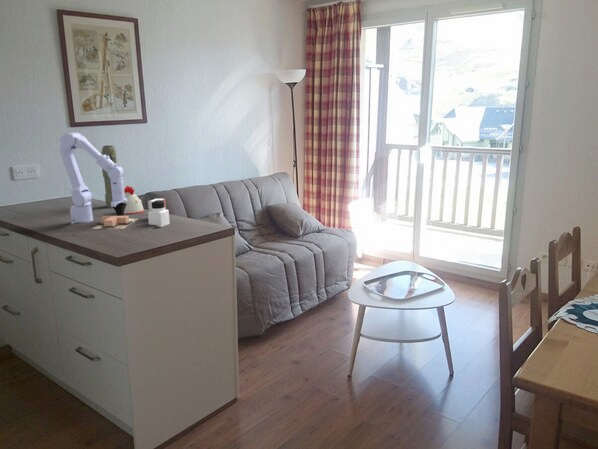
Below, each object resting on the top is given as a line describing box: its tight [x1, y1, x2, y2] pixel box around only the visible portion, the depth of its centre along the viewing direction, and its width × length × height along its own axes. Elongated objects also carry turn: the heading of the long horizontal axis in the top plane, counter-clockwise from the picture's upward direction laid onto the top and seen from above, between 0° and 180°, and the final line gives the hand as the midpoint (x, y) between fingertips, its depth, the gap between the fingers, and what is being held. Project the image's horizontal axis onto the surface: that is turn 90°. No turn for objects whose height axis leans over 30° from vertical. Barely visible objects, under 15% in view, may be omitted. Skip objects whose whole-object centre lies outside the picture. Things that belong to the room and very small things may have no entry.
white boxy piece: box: [147, 198, 167, 212], centre depth 238 cm, size 8×6×10 cm
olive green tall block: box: [101, 145, 119, 209], centre depth 272 cm, size 9×12×35 cm
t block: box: [100, 215, 130, 226], centre depth 225 cm, size 12×10×4 cm
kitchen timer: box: [123, 185, 144, 215], centre depth 255 cm, size 14×14×15 cm
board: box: [91, 218, 139, 230], centre depth 229 cm, size 15×21×2 cm
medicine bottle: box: [147, 200, 171, 228], centre depth 227 cm, size 7×7×12 cm
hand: (120, 218), depth 234 cm, fingers closed
